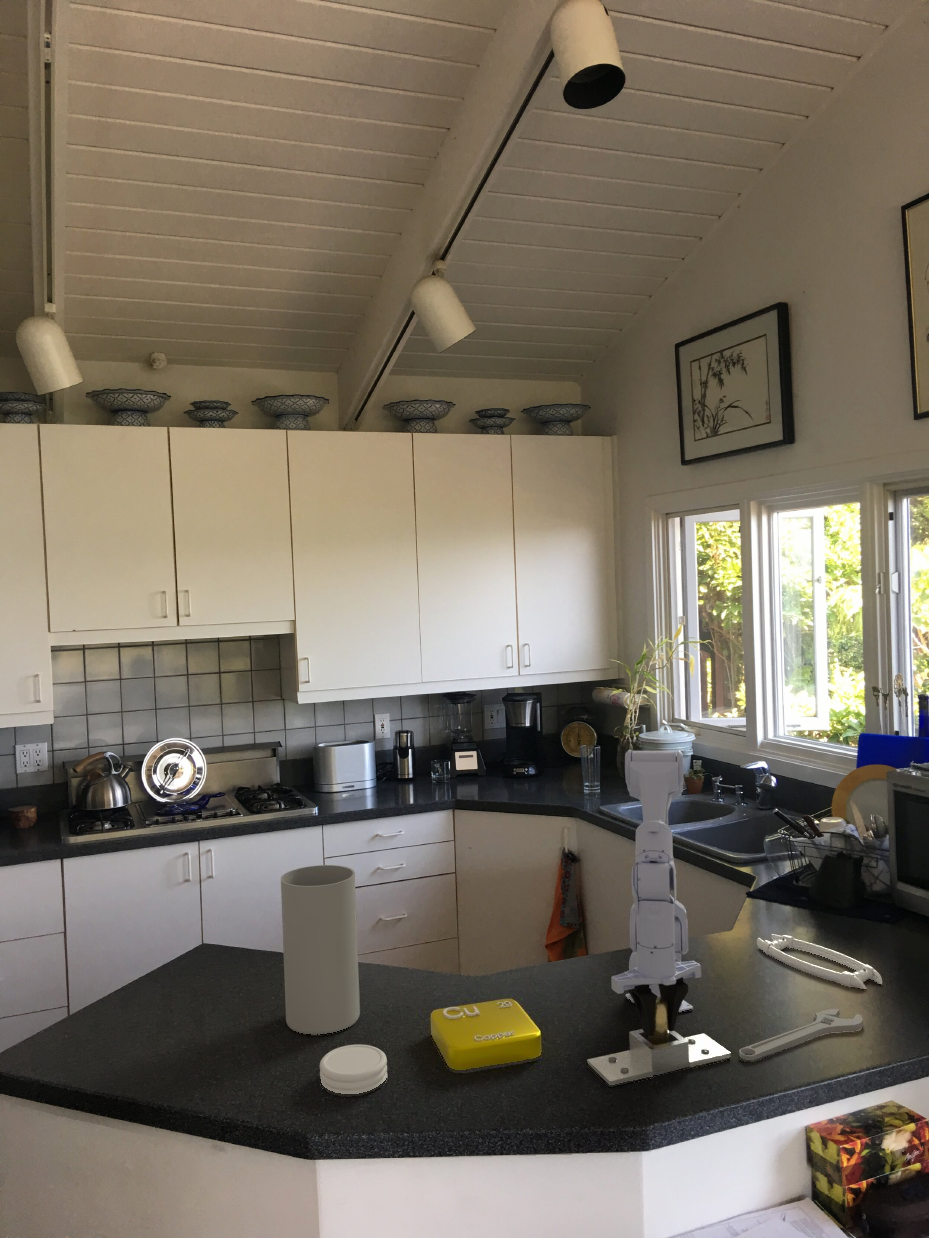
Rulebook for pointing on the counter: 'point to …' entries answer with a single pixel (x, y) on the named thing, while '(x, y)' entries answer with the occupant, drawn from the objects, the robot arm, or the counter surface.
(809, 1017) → the counter surface
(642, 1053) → the mounting bracket
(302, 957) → the cylinder vase
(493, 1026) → the element tile
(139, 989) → the counter surface
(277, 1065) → the counter surface
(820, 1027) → the adjustable wrench
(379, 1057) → the white end cap
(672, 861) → the robot arm
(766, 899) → the counter surface
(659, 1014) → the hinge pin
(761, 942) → the white tongs
